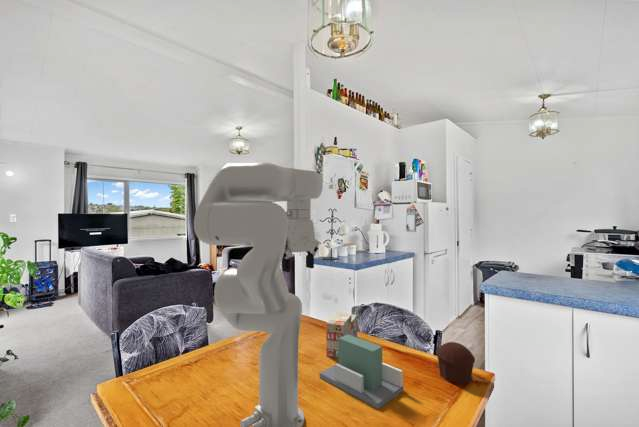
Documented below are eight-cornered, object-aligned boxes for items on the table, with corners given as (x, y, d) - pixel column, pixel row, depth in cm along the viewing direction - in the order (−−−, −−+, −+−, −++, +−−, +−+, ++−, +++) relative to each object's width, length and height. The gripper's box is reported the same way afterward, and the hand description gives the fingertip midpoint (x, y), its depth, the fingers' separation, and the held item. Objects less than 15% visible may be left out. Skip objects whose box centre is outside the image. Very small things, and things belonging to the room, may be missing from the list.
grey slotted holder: (378, 409, 82) (378, 386, 82) (319, 377, 98) (319, 358, 98) (403, 390, 91) (403, 369, 91) (345, 364, 107) (345, 346, 107)
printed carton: (342, 335, 133) (342, 306, 133) (357, 337, 131) (357, 307, 131) (326, 356, 113) (326, 322, 113) (343, 359, 110) (343, 324, 110)
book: (372, 390, 88) (372, 351, 88) (338, 373, 97) (338, 338, 97) (382, 384, 91) (382, 346, 91) (347, 368, 101) (348, 334, 101)
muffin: (481, 387, 93) (481, 353, 93) (443, 386, 93) (443, 352, 93) (465, 368, 104) (465, 337, 105) (431, 366, 105) (431, 336, 105)
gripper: (284, 215, 91) (283, 274, 91) (326, 215, 103) (326, 267, 103) (269, 215, 96) (268, 271, 96) (310, 215, 108) (310, 265, 108)
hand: (298, 269), depth 100 cm, fingers open, 9 cm apart
